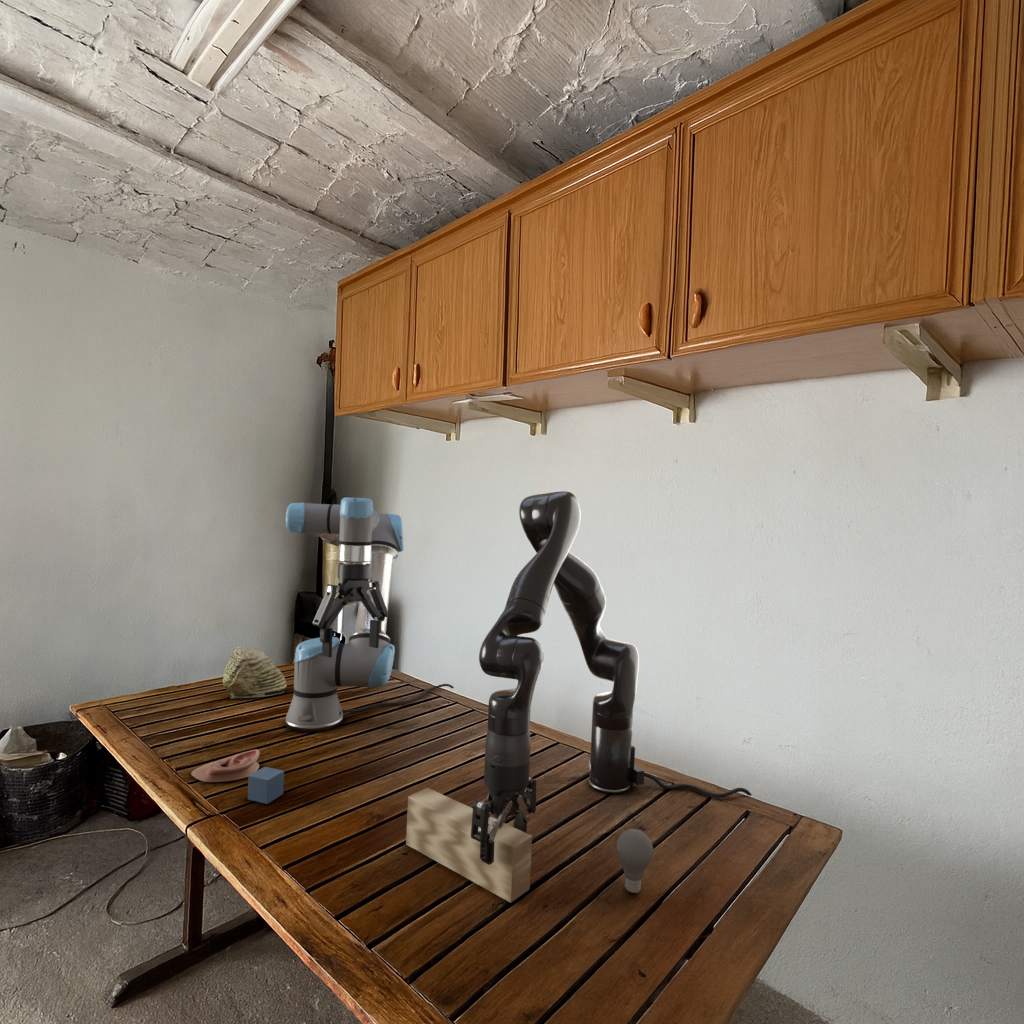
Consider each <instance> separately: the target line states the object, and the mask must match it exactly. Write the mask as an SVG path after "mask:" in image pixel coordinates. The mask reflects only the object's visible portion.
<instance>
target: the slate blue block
mask: <svg viewBox="0 0 1024 1024" xmlns="http://www.w3.org/2000/svg"><path fill="white" fill-rule="evenodd" d="M247 778H248V780H247V800H249V801H252V802H257V803H260V804H265V805H268V804H270V803H271V802H273V801H275V800H276V799H277V798H279V797H281V796H282V795H284V789H285V788H284V785H285V784H284V783H285V782H284V781H285V770H283V769H278V768H273V767H268V766H264V767H262V768H260V769H258V770H257V771H256V772H254V773H253V774H251V775H249V776H248V777H247Z"/></svg>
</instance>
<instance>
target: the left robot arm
mask: <svg viewBox="0 0 1024 1024" xmlns="http://www.w3.org/2000/svg"><path fill="white" fill-rule="evenodd" d="M285 527H286V529H287V531H288V532H289V533H298V534H310V535H313V536H315V537H319V538H321V540H322V541H323V542H325V543H327V544H328V545H329V544H330V545H332V546H335V547H337V548H338V559H337V560H338V561H339V562H338V564H337V578H338V584H337V585H336V584H330V583H328V584H326V585H325V593H324V596H323V598H322V600H321V602H320V605H319V607H318V610H317V611H316V614H315V616H314V618H313V621H312V626H315V627H318V628H319V637H315V638H310V639H307V640H304V641H302V642H300V643H298V645H296V648H295V655H294V660H293V662H294V672H293V695H292V696H293V697H292V699H291V702H290V704H289V708H288V711H287V713H286V715H285V726H286V728H287V729H289V730H291V731H294V732H295V731H296V732H301V733H316V732H325V731H329V730H332V729H335V728H337V727H339V726H340V725H342V723H343V722H344V713H356V712H361V711H364V710H368V709H372V708H375V707H381V706H397V705H404V704H409V703H412V702H415V701H417V700H420V699H422V698H423V697H425V696H426V694H427V693H429V692H431V691H433V690H436V689H439V688H442V687H448V688H450V689H454V688H455V687H454V686H453V685H452V684H450V683H441V684H439V685H436V686H433V687H430V688H427V689H426V690H425V691H424V692H423V693H422V694H420V695H417V696H416V697H413V698H411V699H407V700H402V701H392V702H391V701H390V702H380V703H379V702H378V703H374V704H369V705H367V706H363V707H359V708H352V709H350V708H349V709H342V706H341V702H340V699H339V695H338V687H357V688H358V687H360V688H368V689H369V688H370V689H371V688H376V687H377V688H379V687H384V686H385V685H387V684H388V682H389V680H390V677H391V675H392V670H393V666H394V661H395V652H396V650H395V649H396V648H395V645H394V644H392V643H391V637H389V636H388V635H387V634H386V632H387V624H388V623H387V622H388V618H389V602H390V592H391V580H392V571H393V570H392V569H393V562H394V561H395V560H396V559H397V558H398V557H399V553H401V552H403V551H404V546H405V545H404V533H403V532H404V531H403V520H402V517H401V516H400V515H398V514H393V513H388V512H386V513H378V512H377V511H376V509H375V508H374V502H373V499H371V498H366V497H343V498H342V499H341V500H340V504H334V503H333V504H329V503H328V504H327V503H311V502H304V501H303V502H292V503H289V505H288V506H287V507H286V512H285ZM355 602H358V607H357V615H356V621H355V622H356V623H355V631H354V632H353V633H351V634H350V635H349V636H348V642H347V643H341V641H340V638H339V637H337V636H333V633H334V631H333V630H334V628H333V627H331V626H332V625H333V623H334V622H335V620H336V619H337V618H338V616H339V614H340V613H341V612H342V610H343V609H344V607H345V606H346V605H348V603H349V604H350V603H351V604H352V603H355Z"/></svg>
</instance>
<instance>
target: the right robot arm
mask: <svg viewBox="0 0 1024 1024" xmlns="http://www.w3.org/2000/svg"><path fill="white" fill-rule="evenodd" d="M518 512H519V513H518V514H519V521H520V524H521V527H522V529H523V532H524V534H525V536H526V538H527V540H528V542H529V544H530V545H531V546H532V548H533V550H534V551H535V555H533V557H532V558H531V559H530V560H528V562H526V564H525V565H524V566H523V568H522V569H521V570H520V571H519V572H518V573H517V574H516V577H515V578H514V580H513V582H512V584H511V588H510V591H509V593H508V597H507V600H506V603H505V606H504V609H503V611H502V612H501V614H500V615H499V617H498V619H497V621H495V623H494V625H493V626H492V628H490V630H489V631H488V633H487V634H486V636H485V638H484V639H483V641H482V643H481V646H480V649H479V654H478V663H479V666H480V668H481V670H482V672H483V673H484V674H485V675H487V676H490V677H495V678H503V679H510V680H515V681H517V685H516V687H515V688H507V689H499V690H496V691H494V692H492V693H491V694H490V696H489V699H488V708H487V711H488V713H487V731H486V736H485V747H484V770H483V771H484V772H483V782H484V784H485V786H486V788H487V795H486V798H485V800H482V801H480V800H474V802H473V803H472V808H473V814H472V827H471V838H473V839H475V840H477V841H479V842H480V859H481V860H482V861H483V862H484V863H486V864H488V865H490V864H492V863H493V862H494V843H495V841H494V838H495V836H496V833H497V831H498V830H499V829H501V828H502V826H503V823H505V821H506V820H508V819H509V818H510V817H513V816H515V817H514V818H513V827H514V828H516V829H518V830H521V831H523V832H525V833H527V834H528V832H527V831H528V821H529V820H530V817H531V814H535V813H536V812H537V811H536V810H537V779H535V778H532V777H530V769H531V712H532V711H531V710H532V709H531V708H532V703H533V702H532V701H533V697H534V692H535V688H536V685H537V682H538V679H539V676H540V673H541V670H542V667H543V665H544V658H545V656H544V653H545V652H544V649H543V647H542V644H541V643H540V642H539V640H537V639H536V638H534V637H529V636H521V635H525V634H531V633H535V632H537V631H539V630H540V629H541V628H542V626H543V622H544V619H545V615H546V612H547V608H548V604H549V600H550V597H551V593H552V590H553V587H554V588H555V590H556V593H557V596H558V598H559V600H560V602H561V604H562V606H563V608H564V610H565V613H566V614H567V616H568V618H569V620H570V622H571V625H572V627H573V631H574V632H575V634H576V637H577V639H578V642H579V645H580V648H581V651H582V655H583V657H584V658H583V659H584V660H585V664H586V667H587V668H588V670H589V672H590V673H591V674H592V675H593V676H594V677H595V678H598V679H601V680H604V681H609V682H611V683H612V682H613V684H612V685H613V686H612V691H604V692H601V693H597V694H596V695H595V696H594V697H593V699H592V713H591V734H590V752H589V753H590V754H589V755H590V757H589V760H588V767H589V772H588V784H589V786H590V787H591V788H592V789H594V790H596V791H598V792H600V793H605V794H612V795H613V794H623V793H626V792H628V791H629V790H630V789H634V785H635V786H641V785H644V784H645V778H648V779H650V780H652V781H654V782H655V783H656V784H657V785H658V786H659V787H660V788H662V789H665V790H677V789H690V790H694V791H696V792H698V793H700V794H703V795H705V796H708V797H711V798H717V799H718V798H719V799H721V798H727V797H729V796H732V795H734V794H737V793H741V792H742V793H744V794H746V795H747V796H748V797H749V796H752V795H753V794H752V793H751V792H750V791H749V790H748V789H747V788H744V787H735V788H733V789H731V790H728V791H726V792H721V793H720V792H719V793H716V792H711V791H708V790H705V789H703V788H701V787H698V786H697V785H693V784H689V783H676V784H671V785H669V784H664V783H662V781H661V780H660V779H659V778H658V777H656V776H654V775H653V774H650V773H647V772H645V770H644V769H643V768H641V767H640V766H638V764H636V762H635V760H636V746H635V745H633V724H634V706H635V702H636V698H637V689H638V678H639V670H640V655H639V654H640V653H639V650H638V648H637V646H636V645H634V644H632V643H630V642H625V641H621V640H615V639H612V638H608V637H607V636H606V635H605V633H604V632H603V630H602V628H601V625H600V624H601V622H602V621H601V620H602V619H603V617H604V614H605V612H606V608H607V597H606V594H605V591H604V589H603V586H602V583H601V582H600V579H599V576H598V575H597V574H596V572H595V571H594V570H593V568H592V567H590V566H589V565H588V564H587V563H585V562H584V561H583V560H581V558H579V557H578V556H576V555H575V554H573V553H572V552H571V551H570V549H571V548H572V545H573V543H574V541H575V539H576V537H577V535H578V532H579V529H580V526H581V519H582V512H581V506H580V502H579V500H578V499H577V497H576V495H575V494H574V493H572V492H571V491H565V490H564V491H553V492H547V493H538V494H532V495H529V496H526V497H524V498H523V499H522V500H521V501H520V504H519V509H518ZM733 793H734V794H733ZM528 800H529V802H528ZM490 817H493V818H495V819H497V821H493V820H491V819H490ZM489 825H491V826H492V828H491V831H490V833H488V826H489ZM478 827H480V831H478Z"/></svg>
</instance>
